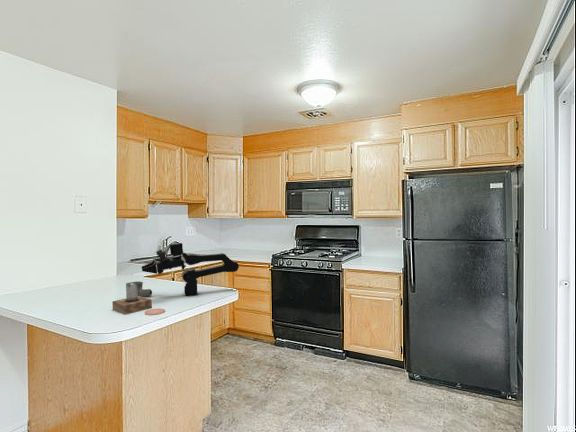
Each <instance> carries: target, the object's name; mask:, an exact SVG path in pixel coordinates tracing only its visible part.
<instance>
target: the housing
mask: <svg viewBox="0 0 576 432" xmlns="http://www.w3.org/2000/svg"><path fill="white" fill-rule="evenodd" d="M152 303H153V301H152V299H150V298H147V297H145V296H138V301H135V302H130V303H128V302H126V298H123V299H122V298H121V299H116V300H112V310H113V311H115V312H119V313H120V312H121V314H123V315H129V314H133V313H135V312H140V311H144V310H150V309H152V307H153V305H152Z"/></svg>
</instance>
